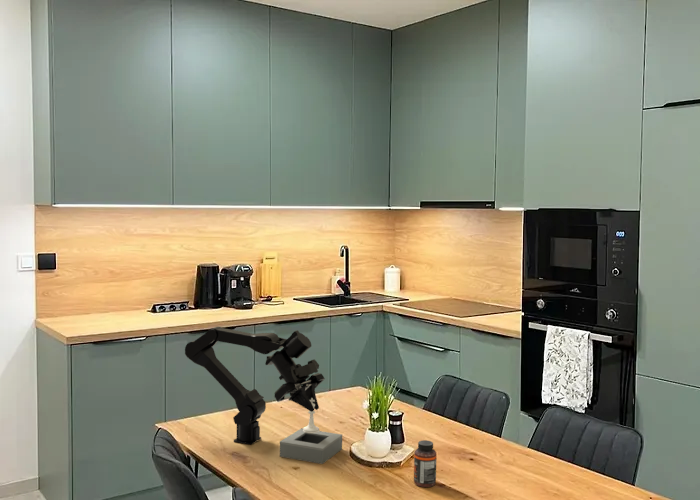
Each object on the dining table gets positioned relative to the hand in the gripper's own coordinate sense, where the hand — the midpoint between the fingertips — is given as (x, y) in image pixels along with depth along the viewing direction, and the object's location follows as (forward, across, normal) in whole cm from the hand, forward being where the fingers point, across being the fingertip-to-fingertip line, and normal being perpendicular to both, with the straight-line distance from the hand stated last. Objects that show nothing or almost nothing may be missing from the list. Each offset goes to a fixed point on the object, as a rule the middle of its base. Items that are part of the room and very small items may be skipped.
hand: (315, 409), depth 208 cm
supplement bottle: (+36, -1, -17) cm, 40 cm away
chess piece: (+4, 0, +6) cm, 7 cm away
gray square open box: (+9, 0, +10) cm, 13 cm away
